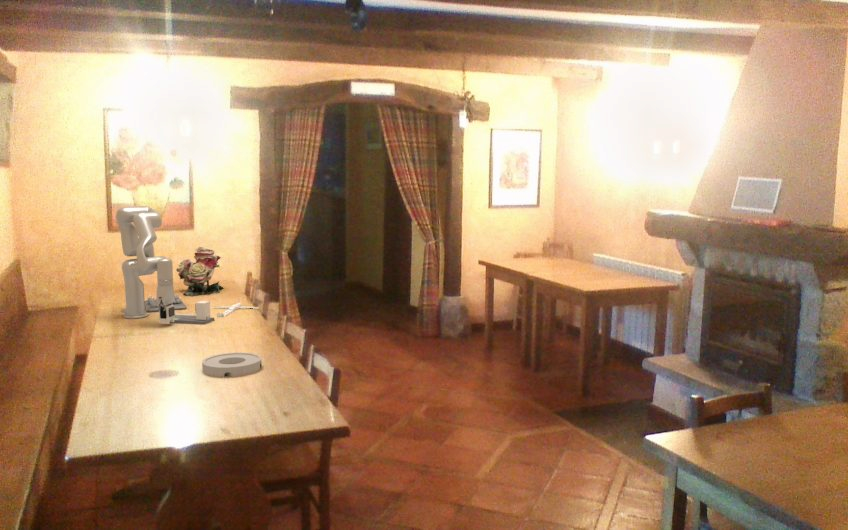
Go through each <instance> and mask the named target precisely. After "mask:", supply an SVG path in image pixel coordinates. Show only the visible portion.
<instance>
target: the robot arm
mask: <svg viewBox="0 0 848 530" xmlns="http://www.w3.org/2000/svg"><path fill="white" fill-rule="evenodd" d="M115 213H116V214H115V219H116V224H117V226H118V228H119V231H120V240H121V245H122V247H121V248H122V252H123V254H124V256H126V257H136V258H129V259H126V260H124V261H123V262H122V264H121V271H122V275H123V279H124V292H125V293H124V295H125V306H126V308H121V309H120V313H124V314H123V318H124V319H141V318H146V317H148V316H149V312H148V311H146V308H145V301H146V300H145V287H144V282H143V280H142V279H141V278H140V277H141V276H142V277H143V276H147V275H148V276H149V275H153V274H154V273H155V272H156V275H157V276H156V277H157V286H156V295H155V296H156V297H155V298H156V303H157V307H158V308H159V311H160V318H163V319H166V311H165V309H166V305H169V304H170V305H174V302H175V295H176V294H175V287H174V273H173V260H172V258H170V257H166V256H165V255H164V256H163V255H162V256H161V255H160V256H158V255H157V256H155V247H154V243H155V242H156V241H157V239H158V237H157V234H156V231H155V228H160V227H161V226H162V224H163V223H162V222H163V219H162V217H161V215H160V213H159V212H158V211H156V209H153V208H152V207H150V206H147V205H142V206H141V205H139V206H135V205H134V206H133V205H132V206H123V207H120V208H118V209H117V210H116V212H115ZM162 304H163V305H162ZM162 306H164V307H162ZM159 311H158V312H159Z"/></svg>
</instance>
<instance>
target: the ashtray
mask: <svg viewBox="0 0 848 530" xmlns="http://www.w3.org/2000/svg"><path fill="white" fill-rule="evenodd" d="M201 365H202V373H203V374H205V375H207V376H211V377H215V378H216V377H218V378H225V376H229V377H232V378H233V377H241V376H246V375H250V374H254V373H256V372H258V371H260V370H261V368H262V367H263V366H262V365H263V364H262V356H261V355H259V354H256V353H251V352H227V353H220V354H214V355H212V356H209V357H206V358H204V359H203V360H202V362H201Z"/></svg>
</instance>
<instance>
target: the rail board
mask: <svg viewBox="0 0 848 530" xmlns="http://www.w3.org/2000/svg"><path fill="white" fill-rule="evenodd" d="M210 303H211V301H209V300H208V301H207V300H200V301H197V302H195V304H194V306H195V307H194V309H195V314H185V313H175V315H174V322H170V324H187V325H188V324H190V325H207V324H210V323H211V322H214V321H215V317H211V304H210Z"/></svg>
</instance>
